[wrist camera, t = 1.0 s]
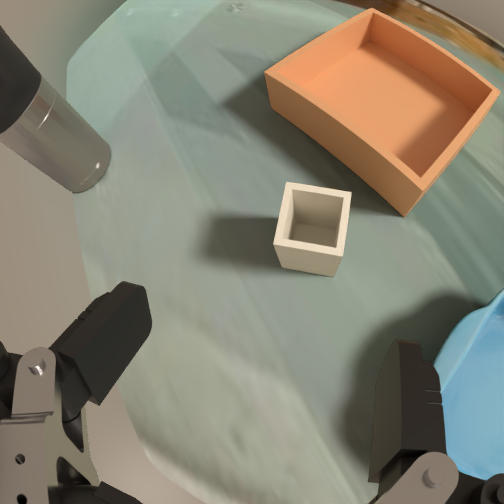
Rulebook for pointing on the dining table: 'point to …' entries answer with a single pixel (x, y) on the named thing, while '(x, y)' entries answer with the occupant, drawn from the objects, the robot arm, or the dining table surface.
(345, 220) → the small crate
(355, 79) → the large crate
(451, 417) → the casserole dish
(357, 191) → the dining table surface
